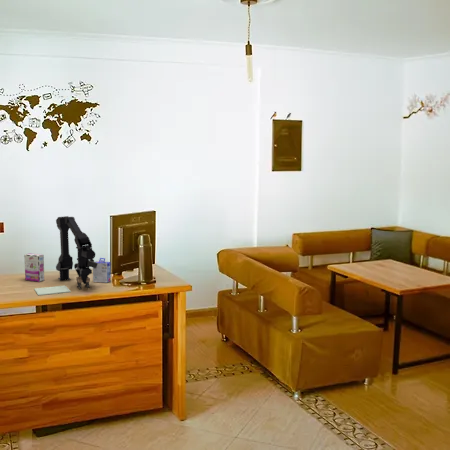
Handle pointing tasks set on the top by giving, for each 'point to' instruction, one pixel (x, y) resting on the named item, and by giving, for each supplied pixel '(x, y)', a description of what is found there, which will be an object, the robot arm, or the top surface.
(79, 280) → the walnut stool
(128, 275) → the top surface
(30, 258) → the candy bar box
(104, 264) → the ink cartridge box
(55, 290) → the felt mat
